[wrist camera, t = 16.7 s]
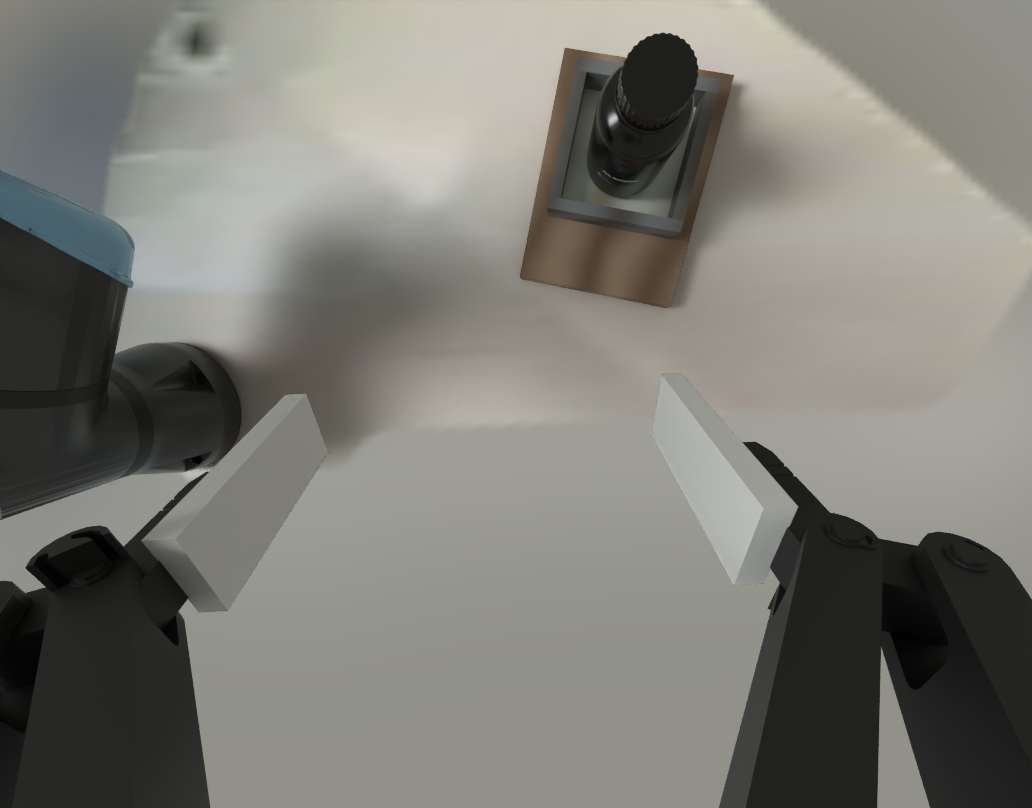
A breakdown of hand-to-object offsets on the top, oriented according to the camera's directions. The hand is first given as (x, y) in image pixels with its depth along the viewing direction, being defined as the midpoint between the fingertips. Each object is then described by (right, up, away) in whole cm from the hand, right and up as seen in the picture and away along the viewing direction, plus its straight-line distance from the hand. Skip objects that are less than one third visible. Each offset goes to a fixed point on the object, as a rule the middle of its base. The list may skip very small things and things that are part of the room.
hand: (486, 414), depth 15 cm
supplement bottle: (+11, +23, +21) cm, 33 cm away
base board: (+11, +21, +23) cm, 33 cm away
